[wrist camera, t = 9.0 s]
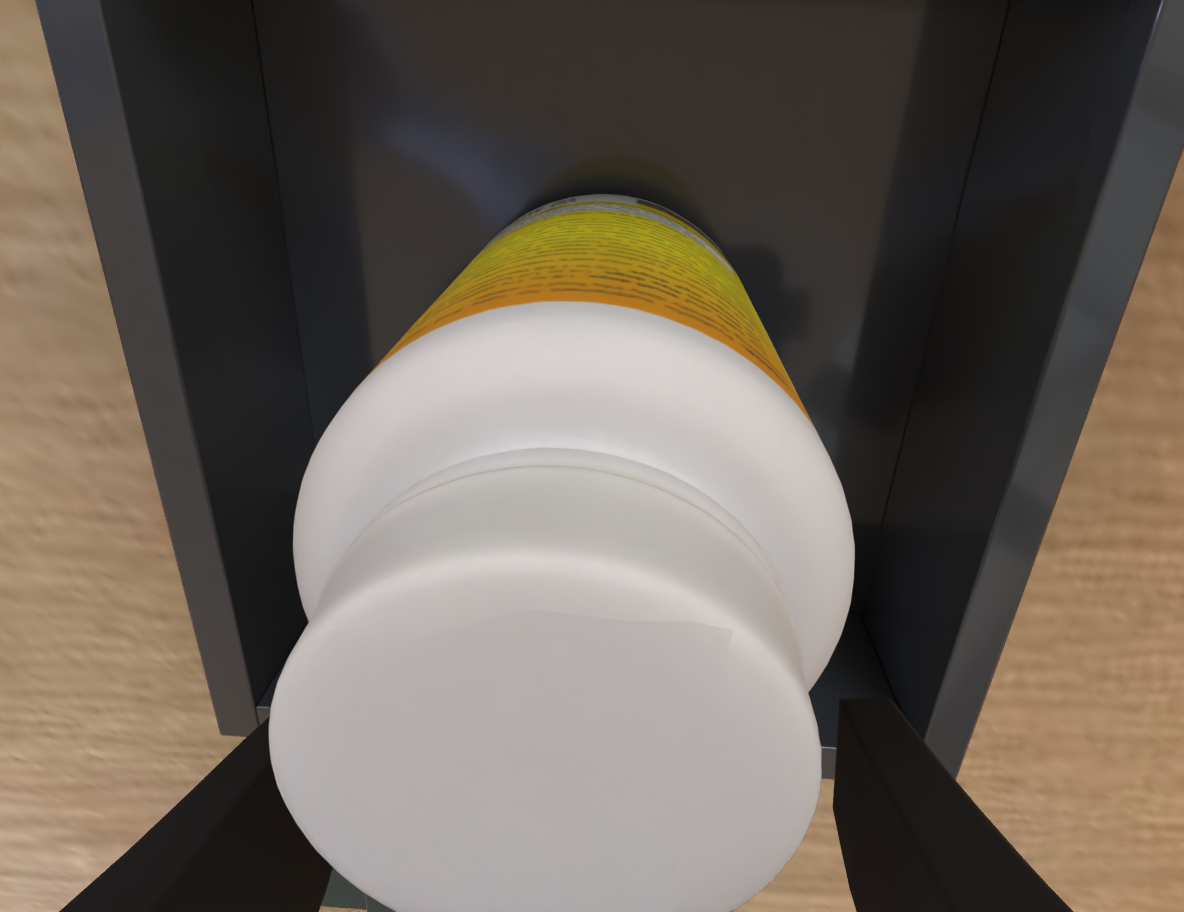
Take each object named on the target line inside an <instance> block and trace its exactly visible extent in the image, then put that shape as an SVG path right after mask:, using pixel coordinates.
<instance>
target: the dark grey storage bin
mask: <svg viewBox="0 0 1184 912" xmlns="http://www.w3.org/2000/svg"><path fill="white" fill-rule="evenodd" d="M35 2H36V6H37V10H38V14H39V18H40V22H41V26H42V30H43V34H44V38H45V42H46V46H47V50H48V54H49V58H50V62H51V66H52V70H53V73H54V77H55V81H56V85H57V89H58V93H59V97H60V101H61V105H62V109H63V113H64V117H65V121H66V125H67V129H68V133H69V137H70V141H71V145H72V149H73V153H74V157H75V161H76V165H77V169H78V173H79V176H80V180H81V184H82V188H83V192H84V196H85V200H86V204H87V208H88V212H89V216H90V220H91V224H92V228H93V232H94V236H95V240H96V244H97V248H98V252H99V256H100V260H101V264H102V268H103V272H104V276H105V280H106V283H107V287H108V291H109V295H110V299H111V303H112V307H113V311H114V315H115V319H116V323H117V327H118V331H119V335H120V339H121V343H122V347H123V351H124V355H125V359H126V363H127V367H128V371H129V375H130V379H131V383H132V386H133V390H134V394H135V398H136V402H137V406H138V410H139V414H140V418H141V422H142V426H143V430H144V434H145V438H146V442H147V446H148V450H149V454H150V458H151V462H152V466H153V470H154V474H155V478H156V482H157V486H158V489H159V493H160V497H161V501H162V505H163V509H164V513H165V517H166V521H167V525H168V529H169V533H170V537H171V541H172V545H173V549H174V553H175V557H176V561H177V565H178V569H179V573H180V577H181V581H182V585H183V589H184V592H185V596H186V600H187V604H188V608H189V612H190V616H191V620H192V624H193V628H194V632H195V636H196V640H197V644H198V648H199V652H200V656H201V660H202V664H203V668H204V672H205V676H206V680H207V684H208V688H209V692H210V696H211V699H212V703H213V707H214V711H215V715H216V719H217V723H218V727H219V731H220V734H221V735H226V736H239V737H248V736H249V735H250V734H251V733H252V732H253V731H254V730H255V729H256V728H257V727H258V726H259V725H261V724H262V723H263V722H264V721H265V720H266V719H267V718H268V717H269V716H270V710H271V704H272V700H273V697H274V693H275V689H276V685H277V682H278V680H279V677H280V675H281V673H282V670H283V668H284V666H285V664H286V661H287V659H288V657H289V655H290V654H291V652H292V650H293V648H294V647H295V645H296V643H297V642H298V640H299V638H300V637H301V635H302V633H303V631H304V630H305V628H306V626H307V625H308V623H309V621H308V618H307V616H306V613H305V611H304V608H303V605H302V601H301V597H300V593H299V589H298V584H297V578H296V572H295V565H294V555H293V531H294V519H295V511H296V506H297V501H298V496H299V492H300V488H301V483H302V480H303V477H304V474H305V471H306V469H307V466H308V464H309V461H310V459H311V456H312V454H313V452H314V450H315V448H316V446H317V444H318V442H319V440H320V438H321V437H322V435H323V434H324V432H325V430H326V429H327V427H328V426H329V424H330V423H331V421H332V420H333V418H334V417H335V416H336V414H337V413H338V411H339V410H340V408H341V407H342V406H343V404H344V403H345V402H346V401H347V399H348V398H349V397H350V395H351V394H352V393H353V391H354V390H355V389H356V388H357V387H358V386H359V385H360V384H361V382H362V381H363V380H364V379H365V378H366V377H367V376H368V375H369V374H370V373H371V371H372V370H373V369H374V368H375V367H376V366H377V365H378V364H379V363H380V362H381V360H382V359H383V358H384V357H385V356H386V355H387V354H388V353H389V351H390V350H391V349H392V348H393V347H394V346H395V345H396V344H397V343H398V341H399V340H400V339H401V338H402V337H403V336H404V335H405V334H406V332H407V331H408V330H409V329H410V328H411V327H412V326H413V325H414V323H415V322H416V321H417V320H418V319H419V318H420V317H421V316H422V315H423V314H424V313H425V312H426V311H427V309H428V308H429V307H430V306H431V305H432V304H433V303H434V302H435V301H436V300H437V299H438V298H439V297H440V295H441V294H442V293H443V292H444V291H445V290H446V289H447V288H448V287H449V286H450V285H451V283H452V282H453V281H454V280H455V279H456V278H457V277H458V276H459V275H460V274H461V273H462V272H463V270H464V269H465V268H466V267H467V266H468V265H469V264H470V263H471V262H472V260H473V259H474V258H475V257H476V256H477V255H478V254H479V253H480V252H481V251H482V250H483V249H484V248H485V246H486V245H487V244H488V243H489V242H490V241H491V240H492V239H493V238H494V237H495V236H496V235H498V234H499V233H500V232H501V231H502V230H503V229H504V228H506V227H507V226H509V225H510V224H511V223H513V222H514V221H515V220H517V219H519V218H520V217H522V216H523V215H525V214H527V213H528V212H530V211H532V210H534V209H537V208H539V207H541V206H544V205H546V204H548V203H551V202H555V201H558V200H562V199H566V198H569V197H575V196H582V195H592V194H612V195H622V196H629V197H634V198H639V199H643V200H646V201H649V202H652V203H655V204H657V205H660V206H662V207H665V208H667V209H669V210H671V211H672V212H674V213H676V214H678V215H679V216H681V217H683V218H684V219H686V220H687V221H689V222H690V223H692V224H693V225H695V226H696V227H697V228H699V229H700V230H701V231H702V232H703V233H704V234H705V235H707V236H708V237H709V238H710V239H711V240H712V241H713V242H714V243H715V244H716V245H717V246H718V247H719V249H720V250H721V251H722V253H723V254H724V255H725V257H726V258H727V259H728V261H729V262H730V264H731V265H732V267H733V268H734V270H735V271H736V273H737V275H738V277H739V279H740V281H741V283H742V285H743V287H744V289H745V291H746V293H747V295H748V297H749V299H750V301H751V303H752V305H753V307H754V309H755V311H756V313H757V314H758V316H759V318H760V320H761V322H762V324H763V326H764V328H765V330H766V332H767V334H768V336H769V338H770V340H771V342H772V344H773V346H774V348H775V350H776V352H777V354H778V356H779V358H780V360H781V362H782V364H783V366H784V368H785V370H786V372H787V374H788V376H789V378H790V380H791V382H792V384H793V386H794V388H795V390H796V392H797V394H798V396H799V398H800V400H801V402H802V404H803V406H804V408H805V410H806V412H807V414H808V416H809V418H810V419H811V421H812V423H813V425H814V427H815V429H816V431H817V433H818V435H819V437H820V439H821V441H822V443H823V445H824V447H825V449H826V451H827V453H828V455H829V456H830V459H831V461H832V463H833V466H834V468H835V471H836V473H837V475H838V478H839V480H840V482H841V485H842V487H843V491H844V495H845V499H846V502H847V506H848V510H849V513H850V517H851V521H852V531H853V538H854V544H855V560H854V581H853V589H852V597H851V604H850V607H849V611H848V615H847V618H846V622H845V625H844V628H843V631H842V634H841V637H840V639H839V641H838V643H837V645H836V647H835V649H834V651H833V653H832V656H831V658H830V660H829V662H828V664H827V666H826V667H825V669H824V670H823V672H822V673H821V675H820V677H819V678H818V680H817V681H816V683H815V684H814V686H813V687H812V688H811V690H810V691H809V692H808V694H809V697H810V701H811V704H812V708H813V711H814V715H815V718H816V722H817V725H818V734H819V739H820V745H821V750H822V752H821V768H822V776H821V778H823V779H835V765H836V750H837V734H838V718H839V703H840V699H850V698H883V697H888V698H889V699H890V700H892V701H893V702H894V703H895V704H896V705H897V706H898V708H899V709H900V710H901V712H902V713H903V714H904V716H905V717H906V718H907V720H908V721H909V722H910V724H911V725H912V726H913V727H914V729H915V730H916V731H917V733H918V734H919V735H920V737H921V738H922V739H923V740H924V742H925V743H926V744H927V746H928V747H929V748H930V749H931V751H932V752H933V753H934V754H935V756H936V757H937V758H938V759H939V761H940V762H941V763H942V764H943V765H944V767H945V768H946V769H947V770H948V772H949V773H950V774H951V775H952V776H953V778H954V779H955V780H956V778H957V775H958V773H959V770H960V767H961V764H962V761H963V759H964V756H965V753H966V750H967V748H968V745H969V742H970V739H971V737H972V734H973V731H974V728H975V725H976V723H977V720H978V717H979V714H980V712H981V709H982V706H983V703H984V700H985V698H986V695H987V692H988V689H989V687H990V684H991V681H992V678H993V675H994V673H995V670H996V667H997V664H998V662H999V659H1000V656H1001V653H1002V650H1003V648H1004V645H1005V642H1006V639H1007V637H1008V634H1009V631H1010V628H1011V626H1012V623H1013V620H1014V617H1015V614H1016V612H1017V609H1018V606H1019V603H1020V601H1021V598H1022V595H1023V592H1024V589H1025V587H1026V584H1027V581H1028V578H1029V576H1030V573H1031V570H1032V567H1033V564H1034V562H1035V559H1036V556H1037V553H1038V551H1039V548H1040V545H1041V542H1042V539H1043V537H1044V534H1045V531H1046V528H1047V526H1048V523H1049V520H1050V517H1051V515H1052V512H1053V509H1054V506H1055V503H1056V501H1057V498H1058V495H1059V492H1060V490H1061V487H1062V484H1063V481H1064V478H1065V476H1066V473H1067V470H1068V467H1069V465H1070V462H1071V459H1072V456H1073V453H1074V451H1075V448H1076V445H1077V442H1078V440H1079V437H1080V434H1081V431H1082V428H1083V426H1084V423H1085V420H1086V417H1087V415H1088V412H1089V409H1090V406H1091V403H1092V401H1093V398H1094V395H1095V392H1096V390H1097V387H1098V384H1099V381H1100V379H1101V376H1102V373H1103V370H1104V367H1105V365H1106V362H1107V359H1108V356H1109V354H1110V351H1111V348H1112V345H1113V342H1114V340H1115V337H1116V334H1117V331H1118V329H1119V326H1120V323H1121V320H1122V317H1123V315H1124V312H1125V309H1126V306H1127V304H1128V301H1129V298H1130V295H1131V292H1132V290H1133V287H1134V284H1135V281H1136V279H1137V276H1138V273H1139V270H1140V268H1141V265H1142V262H1143V259H1144V256H1145V254H1146V251H1147V248H1148V245H1149V243H1150V240H1151V237H1152V234H1153V231H1154V229H1155V226H1156V223H1157V220H1158V218H1159V215H1160V212H1161V209H1162V206H1163V204H1164V201H1165V198H1166V195H1167V193H1168V190H1169V187H1170V184H1171V181H1172V179H1173V176H1174V173H1175V170H1176V168H1177V165H1178V162H1179V159H1180V157H1181V154H1182V151H1183V148H1184V0H35Z"/></svg>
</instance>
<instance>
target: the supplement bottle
mask: <svg viewBox="0 0 1184 912" xmlns="http://www.w3.org/2000/svg"><path fill="white" fill-rule="evenodd" d="M293 555H294V565H295V572H296V578H297V584H298V589H299V593H300V597H301V601H302V605H303V608H304V611H305V613H306V616H307V618H308V621H309V623H308V625H307V626H306V628H305V630H304V631H303V633H302V635H301V637H300V638H299V640H298V642H297V643H296V645H295V647H294V648H293V650H292V652H291V654H290V655H289V657H288V659H287V661H286V664H285V666H284V668H283V670H282V673H281V675H280V677H279V680H278V682H277V685H276V689H275V693H274V697H273V700H272V704H271V710H270V719H269V748H270V758H271V764H272V767H273V771H274V775H275V779H276V783H277V787H278V789H279V791H280V793H281V796H282V798H283V800H284V802H285V804H286V806H287V808H288V810H289V811H290V813H291V815H292V817H293V818H294V820H295V822H296V824H297V825H298V827H299V828H300V829H301V831H302V832H303V833H304V835H305V836H306V838H307V839H308V840H309V842H310V843H311V845H312V846H313V847H314V848H315V849H316V851H317V852H318V853H319V854H320V855H321V856H322V857H323V858H324V859H325V860H326V861H327V862H328V863H329V864H330V865H331V866H332V867H333V868H334V869H335V870H336V871H337V872H338V873H339V874H341V875H342V876H343V877H344V878H346V879H347V880H348V881H349V882H351V883H352V884H353V885H355V886H356V887H357V888H358V889H360V890H361V891H362V892H364V893H366V894H367V895H369V896H370V897H372V898H374V899H375V900H377V901H378V902H380V903H382V904H383V905H385V906H387V907H388V908H390V909H392V910H394V911H396V912H731V911H733V910H735V909H736V908H738V907H739V906H741V905H742V904H744V903H746V902H747V901H748V900H750V899H751V898H752V897H753V896H754V895H756V894H757V893H758V892H759V891H760V890H761V889H763V888H764V887H765V886H766V885H767V884H768V883H769V882H770V881H772V880H773V879H774V878H775V877H776V876H777V875H778V873H779V872H780V871H781V870H782V868H783V867H784V866H785V865H786V863H787V862H788V861H789V860H790V859H791V857H792V856H793V855H794V854H795V852H796V850H797V848H798V847H799V845H800V843H801V841H802V839H803V837H804V835H805V833H806V831H807V829H808V827H809V824H810V822H811V819H812V817H813V814H814V812H815V809H816V806H817V802H818V798H819V795H820V785H821V776H822V768H821V752H822V750H821V745H820V739H819V734H818V725H817V722H816V718H815V715H814V711H813V708H812V704H811V701H810V697H809V694H808V692H809V691H810V690H811V688H812V687H813V686H814V684H815V683H816V681H817V680H818V678H819V677H820V675H821V673H822V672H823V670H824V669H825V667H826V666H827V664H828V662H829V660H830V658H831V656H832V653H833V651H834V649H835V647H836V645H837V643H838V641H839V639H840V637H841V634H842V631H843V628H844V625H845V622H846V618H847V615H848V611H849V607H850V604H851V597H852V589H853V581H854V560H855V544H854V538H853V531H852V521H851V517H850V513H849V510H848V506H847V502H846V499H845V495H844V491H843V487H842V485H841V482H840V480H839V478H838V475H837V473H836V471H835V468H834V466H833V463H832V461H831V459H830V456H829V455H828V453H827V451H826V449H825V447H824V445H823V443H822V441H821V439H820V437H819V435H818V433H817V431H816V429H815V427H814V425H813V423H812V421H811V419H810V418H809V416H808V414H807V412H806V410H805V408H804V406H803V404H802V402H801V400H800V398H799V396H798V394H797V392H796V390H795V388H794V386H793V384H792V382H791V380H790V378H789V376H788V374H787V372H786V370H785V368H784V366H783V364H782V362H781V360H780V358H779V356H778V354H777V352H776V350H775V348H774V346H773V344H772V342H771V340H770V338H769V336H768V334H767V332H766V330H765V328H764V326H763V324H762V322H761V320H760V318H759V316H758V314H757V313H756V311H755V309H754V307H753V305H752V303H751V301H750V299H749V297H748V295H747V293H746V291H745V289H744V287H743V285H742V283H741V281H740V279H739V277H738V275H737V273H736V271H735V270H734V268H733V267H732V265H731V264H730V262H729V261H728V259H727V258H726V257H725V255H724V254H723V253H722V251H721V250H720V249H719V247H718V246H717V245H716V244H715V243H714V242H713V241H712V240H711V239H710V238H709V237H708V236H707V235H705V234H704V233H703V232H702V231H701V230H700V229H699V228H697V227H696V226H695V225H693V224H692V223H690V222H689V221H687V220H686V219H684V218H683V217H681V216H679V215H678V214H676V213H674V212H672V211H671V210H669V209H667V208H665V207H662V206H660V205H657V204H655V203H652V202H649V201H646V200H643V199H639V198H634V197H629V196H622V195H612V194H592V195H582V196H575V197H569V198H566V199H562V200H558V201H555V202H551V203H548V204H546V205H544V206H541V207H539V208H537V209H534V210H532V211H530V212H528V213H527V214H525V215H523V216H522V217H520V218H519V219H517V220H515V221H514V222H513V223H511V224H510V225H509V226H507V227H506V228H504V229H503V230H502V231H501V232H500V233H499V234H498V235H496V236H495V237H494V238H493V239H492V240H491V241H490V242H489V243H488V244H487V245H486V246H485V248H484V249H483V250H482V251H481V252H480V253H479V254H478V255H477V256H476V257H475V258H474V259H473V260H472V262H471V263H470V264H469V265H468V266H467V267H466V268H465V269H464V270H463V272H462V273H461V274H460V275H459V276H458V277H457V278H456V279H455V280H454V281H453V282H452V283H451V285H450V286H449V287H448V288H447V289H446V290H445V291H444V292H443V293H442V294H441V295H440V297H439V298H438V299H437V300H436V301H435V302H434V303H433V304H432V305H431V306H430V307H429V308H428V309H427V311H426V312H425V313H424V314H423V315H422V316H421V317H420V318H419V319H418V320H417V321H416V322H415V323H414V325H413V326H412V327H411V328H410V329H409V330H408V331H407V332H406V334H405V335H404V336H403V337H402V338H401V339H400V340H399V341H398V343H397V344H396V345H395V346H394V347H393V348H392V349H391V350H390V351H389V353H388V354H387V355H386V356H385V357H384V358H383V359H382V360H381V362H380V363H379V364H378V365H377V366H376V367H375V368H374V369H373V370H372V371H371V373H370V374H369V375H368V376H367V377H366V378H365V379H364V380H363V381H362V382H361V384H360V385H359V386H358V387H357V388H356V389H355V390H354V391H353V393H352V394H351V395H350V397H349V398H348V399H347V401H346V402H345V403H344V404H343V406H342V407H341V408H340V410H339V411H338V413H337V414H336V416H335V417H334V418H333V420H332V421H331V423H330V424H329V426H328V427H327V429H326V430H325V432H324V434H323V435H322V437H321V438H320V440H319V442H318V444H317V446H316V448H315V450H314V452H313V454H312V456H311V459H310V461H309V464H308V466H307V469H306V471H305V474H304V477H303V480H302V483H301V488H300V492H299V496H298V501H297V506H296V511H295V519H294V531H293Z"/></svg>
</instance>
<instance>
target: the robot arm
mask: <svg viewBox="0 0 1184 912" xmlns="http://www.w3.org/2000/svg"><path fill="white" fill-rule="evenodd" d="M269 719H270V716H269V717H268V718H267V719H266V720H265V721H264V722H263V723H262V724H261V725H259V726H258V727H257V728H256V729H255V730H254V731H253V732H252V733H251V734H250V735H249V736H248V737H247V738H245V739H244V740H243V741H242V742H241V743H240V744H239V745H238V746H237V747H236V748H235V749H234V750H233V751H232V752H231V753H230V754H229V755H228V756H227V757H226V758H225V759H224V760H223V761H221V762H220V763H219V764H218V765H217V766H216V767H215V768H214V769H213V770H212V771H211V772H210V773H209V774H208V775H207V776H206V777H205V778H204V779H203V780H202V781H201V782H200V783H199V784H198V785H197V786H196V787H195V788H194V789H193V790H191V791H190V792H189V793H188V794H187V795H186V796H185V797H184V798H183V799H182V800H181V801H180V802H179V803H178V804H177V805H176V806H175V807H174V808H173V809H171V810H170V811H169V812H168V813H167V814H166V815H165V816H164V817H163V818H162V819H161V820H160V821H159V822H158V823H157V824H156V825H155V826H154V827H152V828H151V829H150V830H149V831H148V832H147V833H146V834H145V835H144V836H143V837H142V838H141V839H140V840H139V841H138V842H137V843H136V844H135V845H133V846H132V847H131V848H130V849H129V850H128V851H127V852H126V853H125V854H124V855H123V856H121V857H120V858H119V859H118V860H117V861H116V862H115V863H114V864H112V865H111V866H110V867H109V868H108V869H107V870H106V871H104V872H103V873H102V874H101V875H100V876H99V877H98V878H97V879H95V880H94V881H93V882H92V883H91V884H90V885H89V886H88V887H86V888H85V889H84V890H83V891H82V892H81V893H80V894H79V895H77V896H76V897H75V898H74V899H73V900H72V901H71V902H70V903H68V904H67V905H66V906H65V907H64V908H63V909H62V910H61V911H59V912H319V909H320V906H321V904H322V901H323V899H324V896H325V893H326V890H327V886H328V883H329V879H330V876H331V872H332V869H333V867H332V866H331V865H330V864H329V863H328V862H327V861H326V860H325V859H324V858H323V857H322V856H321V855H320V854H319V853H318V852H317V851H316V849H315V848H314V847H313V846H312V845H311V843H310V842H309V840H308V839H307V838H306V836H305V835H304V833H303V832H302V831H301V829H300V828H299V827H298V825H297V824H296V822H295V820H294V818H293V817H292V815H291V813H290V811H289V810H288V808H287V806H286V804H285V802H284V800H283V798H282V796H281V793H280V791H279V789H278V787H277V783H276V779H275V775H274V771H273V767H272V764H271V758H270V748H269ZM833 811H834V816H835V821H836V826H837V831H838V836H839V840H840V845H841V850H842V855H843V860H844V864H845V869H846V874H847V878H848V883H849V887H850V891H851V895H852V898H853V901H854V904H855V908H856V911H857V912H1073V911H1072V910H1071V909H1070V908H1069V907H1068V906H1067V905H1066V904H1065V902H1064V901H1063V900H1062V899H1061V898H1060V897H1059V896H1058V895H1057V894H1056V893H1055V892H1054V891H1053V890H1052V889H1051V888H1050V887H1049V886H1048V885H1047V884H1046V883H1045V881H1044V880H1043V879H1042V878H1041V877H1040V876H1039V875H1038V874H1037V873H1036V872H1035V871H1034V870H1033V868H1032V867H1031V866H1030V865H1029V864H1028V863H1027V862H1026V861H1025V860H1024V859H1023V858H1022V856H1021V855H1020V854H1019V853H1018V852H1017V851H1016V850H1015V848H1014V847H1013V846H1012V845H1011V844H1010V843H1009V842H1008V841H1007V839H1006V838H1005V837H1004V836H1003V835H1002V834H1001V833H1000V832H999V830H998V829H997V828H996V827H995V826H994V825H993V824H992V822H991V821H990V820H989V819H988V818H987V817H986V816H985V815H984V813H983V812H982V811H981V810H980V809H979V808H978V806H977V805H976V804H975V803H974V802H973V801H972V799H971V798H970V797H969V796H968V795H967V793H966V792H965V791H964V790H963V789H962V787H961V786H960V785H959V784H958V783H957V781H956V780H955V779H954V778H953V776H952V775H951V774H950V773H949V772H948V770H947V769H946V768H945V767H944V765H943V764H942V763H941V762H940V761H939V759H938V758H937V757H936V756H935V754H934V753H933V752H932V751H931V749H930V748H929V747H928V746H927V744H926V743H925V742H924V740H923V739H922V738H921V737H920V735H919V734H918V733H917V731H916V730H915V729H914V727H913V726H912V725H911V724H910V722H909V721H908V720H907V718H906V717H905V716H904V714H903V713H902V712H901V710H900V709H899V708H898V706H897V705H896V704H895V703H894V702H893V701H892V700H890V699H889V698H888V697H883V698H850V699H840V703H839V718H838V734H837V750H836V765H835V781H834V797H833Z"/></svg>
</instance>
